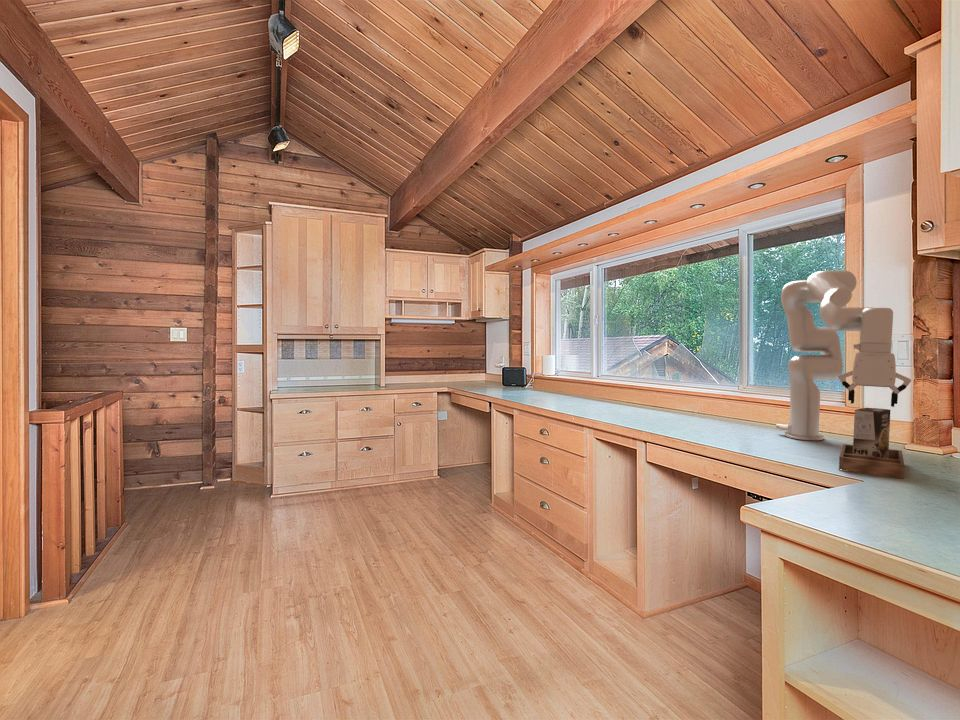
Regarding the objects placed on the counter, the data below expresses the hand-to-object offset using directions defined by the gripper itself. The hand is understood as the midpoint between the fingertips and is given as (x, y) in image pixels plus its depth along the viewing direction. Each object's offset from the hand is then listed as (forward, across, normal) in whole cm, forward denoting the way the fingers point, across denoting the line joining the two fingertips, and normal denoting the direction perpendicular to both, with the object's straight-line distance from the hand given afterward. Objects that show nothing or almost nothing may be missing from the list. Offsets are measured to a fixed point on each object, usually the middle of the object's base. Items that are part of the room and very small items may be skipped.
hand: (872, 404), depth 150 cm
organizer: (+18, 0, -3) cm, 19 cm away
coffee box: (+18, 0, 0) cm, 18 cm away
